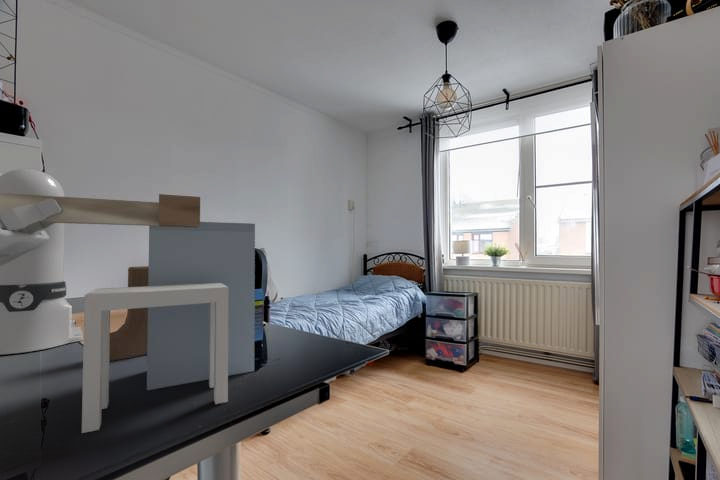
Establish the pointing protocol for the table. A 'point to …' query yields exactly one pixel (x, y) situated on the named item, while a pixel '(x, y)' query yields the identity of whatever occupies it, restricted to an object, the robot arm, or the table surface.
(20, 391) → the table surface
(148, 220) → the long tan plank
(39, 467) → the table surface
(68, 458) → the table surface
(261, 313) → the label tape box
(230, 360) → the tall blue-grey box
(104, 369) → the stool
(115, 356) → the wooden block
